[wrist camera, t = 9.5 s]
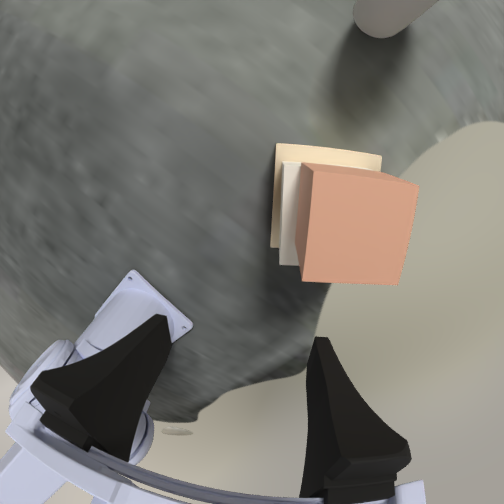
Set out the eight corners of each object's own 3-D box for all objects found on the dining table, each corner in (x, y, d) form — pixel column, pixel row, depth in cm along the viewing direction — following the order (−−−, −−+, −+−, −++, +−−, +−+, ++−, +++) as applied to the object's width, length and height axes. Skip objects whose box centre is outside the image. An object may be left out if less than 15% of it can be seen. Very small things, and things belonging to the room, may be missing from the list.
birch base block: (355, 238, 21) (367, 253, 18) (271, 232, 22) (270, 247, 19) (366, 153, 18) (381, 155, 15) (276, 143, 19) (276, 143, 16)
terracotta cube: (368, 247, 15) (397, 284, 11) (294, 242, 15) (302, 281, 11) (380, 171, 13) (419, 185, 9) (301, 162, 13) (313, 171, 9)
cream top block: (357, 247, 18) (371, 268, 15) (278, 244, 18) (279, 264, 16) (367, 168, 16) (385, 174, 13) (282, 161, 16) (283, 165, 13)
